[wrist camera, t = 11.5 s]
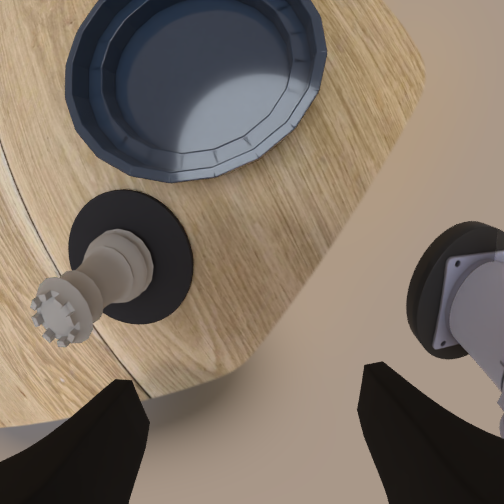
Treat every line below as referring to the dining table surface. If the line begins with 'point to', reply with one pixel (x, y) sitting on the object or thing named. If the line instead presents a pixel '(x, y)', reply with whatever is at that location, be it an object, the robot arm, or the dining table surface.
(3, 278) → the dining table surface
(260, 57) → the bowl
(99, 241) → the rook chess piece
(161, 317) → the coaster
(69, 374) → the dining table surface
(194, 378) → the dining table surface
